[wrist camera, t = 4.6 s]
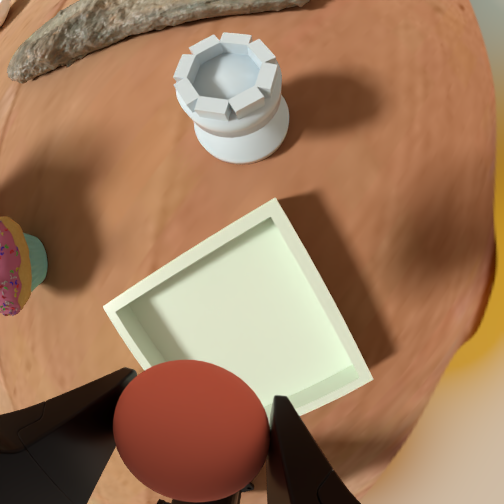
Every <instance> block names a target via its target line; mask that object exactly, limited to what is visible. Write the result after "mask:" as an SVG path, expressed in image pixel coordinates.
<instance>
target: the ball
mask: <svg viewBox="0 0 504 504" xmlns="http://www.w3.org/2000/svg"><path fill="white" fill-rule="evenodd" d="M113 434H114V440H115V444H116V447H117V450H118V452H119V454H120V457H121V458H122V460H123V462H124V464H125V465H126V466H127V468H128V469H129V470H130V472H131V473H132V474H133V475H134V476H135V477H136V478H137V479H138V480H139V481H140V482H142V483H143V484H144V485H145V486H147V487H149V488H150V489H152V490H153V491H155V492H157V493H159V494H161V495H163V496H166V497H169V498H172V499H175V500H180V501H185V502H208V501H214V500H219V499H222V498H225V497H228V496H230V495H232V494H235V493H236V492H238V491H239V490H241V489H243V488H244V487H245V486H246V485H247V484H249V483H250V482H251V481H252V480H253V479H254V478H255V477H256V475H257V474H258V473H259V471H260V470H261V468H262V467H263V465H264V463H265V460H266V458H267V455H268V451H269V446H270V426H269V421H268V417H267V414H266V411H265V409H264V407H263V405H262V403H261V401H260V399H259V398H258V396H257V395H256V394H255V392H254V391H253V390H252V389H251V388H250V387H249V386H248V385H247V384H246V383H245V382H244V381H243V380H242V379H241V378H239V377H238V376H236V375H235V374H233V373H232V372H230V371H228V370H226V369H224V368H222V367H220V366H217V365H214V364H212V363H208V362H204V361H198V360H174V361H168V362H164V363H160V364H157V365H155V366H152V367H150V368H148V369H147V370H145V371H143V372H142V373H140V374H139V375H138V376H136V377H135V378H134V379H133V380H132V381H131V382H130V383H129V384H128V385H127V386H126V388H125V389H124V390H123V392H122V394H121V396H120V397H119V400H118V402H117V405H116V408H115V412H114V418H113Z"/></svg>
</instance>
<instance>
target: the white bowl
mask: <svg viewBox="0 0 504 504" xmlns="http://www.w3.org/2000/svg"><path fill="white" fill-rule="evenodd" d="M10 6H11V0H0V27H1V26H2V24H3V23H4V21H5V19H6V17H7V15H8V12H9V9H10Z"/></svg>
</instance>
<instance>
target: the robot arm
mask: <svg viewBox="0 0 504 504" xmlns="http://www.w3.org/2000/svg"><path fill="white" fill-rule="evenodd" d="M136 376H137V373H136V371H135V370H133V369H130V368H126V367H124V368H122V369H119V370H117V371H115V372H113V373H111V374H108V375H106V376H104V377H102V378H99V379H97V380H95V381H92V382H90V383H88V384H85V385H83V386H81V387H78V388H76V389H74V390H71V391H69V392H66V393H64V394H62V395H59V396H57V397H54V398H52V399H49V400H47V401H46V402H45V401H44V402H41V403H39V404H36V405H33V406H31V407H28V408H25V409H21V410H18V411H14V412H10V413H6V414H2V415H0V504H87V502H88V500H89V498H90V496H91V494H92V492H93V490H94V488H95V486H96V484H97V482H98V480H99V478H100V476H101V474H102V472H103V470H104V468H105V466H106V464H107V462H108V461H109V459H110V457H111V455H112V453H113V451H114V449H115V447H116V444H115V440H114V434H113V418H114V412H115V408H116V405H117V402H118V400H119V397H120V396H121V394H122V392H123V390H124V389H125V388H126V386H127V385H128V384H129V383H130V382H131V381H132V380H133V379H134V378H135V377H136ZM269 426H270V446H269V451H268V455H267V458H266V472H267V501H268V504H361V503H360V502H359V501H358V500H357V499H356V498H355V497H354V496H353V494H352V493H351V492H350V491H349V490H348V489H347V487H346V486H345V485H344V483H343V482H342V481H341V479H340V478H339V476H338V475H337V473H336V472H335V470H333V468H332V466H331V465H330V463H329V461H328V460H327V458H326V457H325V455H324V454H323V452H322V451H321V449H320V448H319V446H318V445H317V443H316V442H315V440H314V438H313V437H312V435H311V434H310V432H309V431H308V429H307V427H306V426H305V424H304V423H303V421H302V419H301V418H300V416H299V415H298V413H297V411H296V410H295V408H294V406H293V405H292V403H291V402H290V400H289V398H288V397H287V396H282V395H275V396H274V398H273V403H272V408H271V414H270V422H269ZM253 489H254V485H253V484H252V483H251V482H250V483H249V484H247V485H246V486H245V487H244V488H243V489H241V490H239V491H238V492H236V493H235V494H232V495H230V496H228V497H225V498H222V499H219V500H214V501H208V502H185V501H180V500H175V499H173V500H172V502H171V503H168V502H165V501H164V500H161V499H159V500H158V502H157V504H240V498H241V492H246V491H250V490H253Z"/></svg>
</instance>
